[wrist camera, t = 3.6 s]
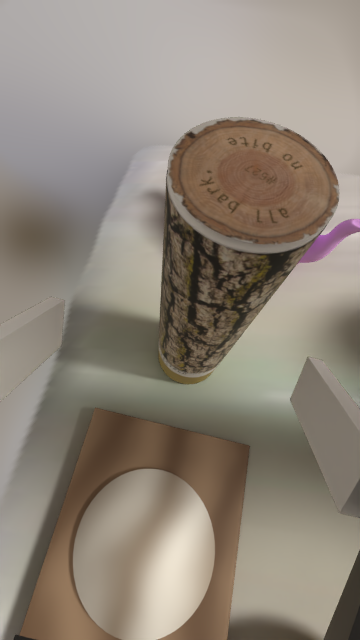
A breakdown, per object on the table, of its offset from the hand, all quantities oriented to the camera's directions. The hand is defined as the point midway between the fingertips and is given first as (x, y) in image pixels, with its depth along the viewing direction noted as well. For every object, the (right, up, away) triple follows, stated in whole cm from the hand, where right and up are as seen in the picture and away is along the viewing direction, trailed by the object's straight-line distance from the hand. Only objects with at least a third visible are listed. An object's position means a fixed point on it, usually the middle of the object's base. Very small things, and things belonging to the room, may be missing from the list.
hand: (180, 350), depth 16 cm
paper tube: (+1, -3, +19) cm, 19 cm away
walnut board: (-3, -19, +11) cm, 22 cm away
